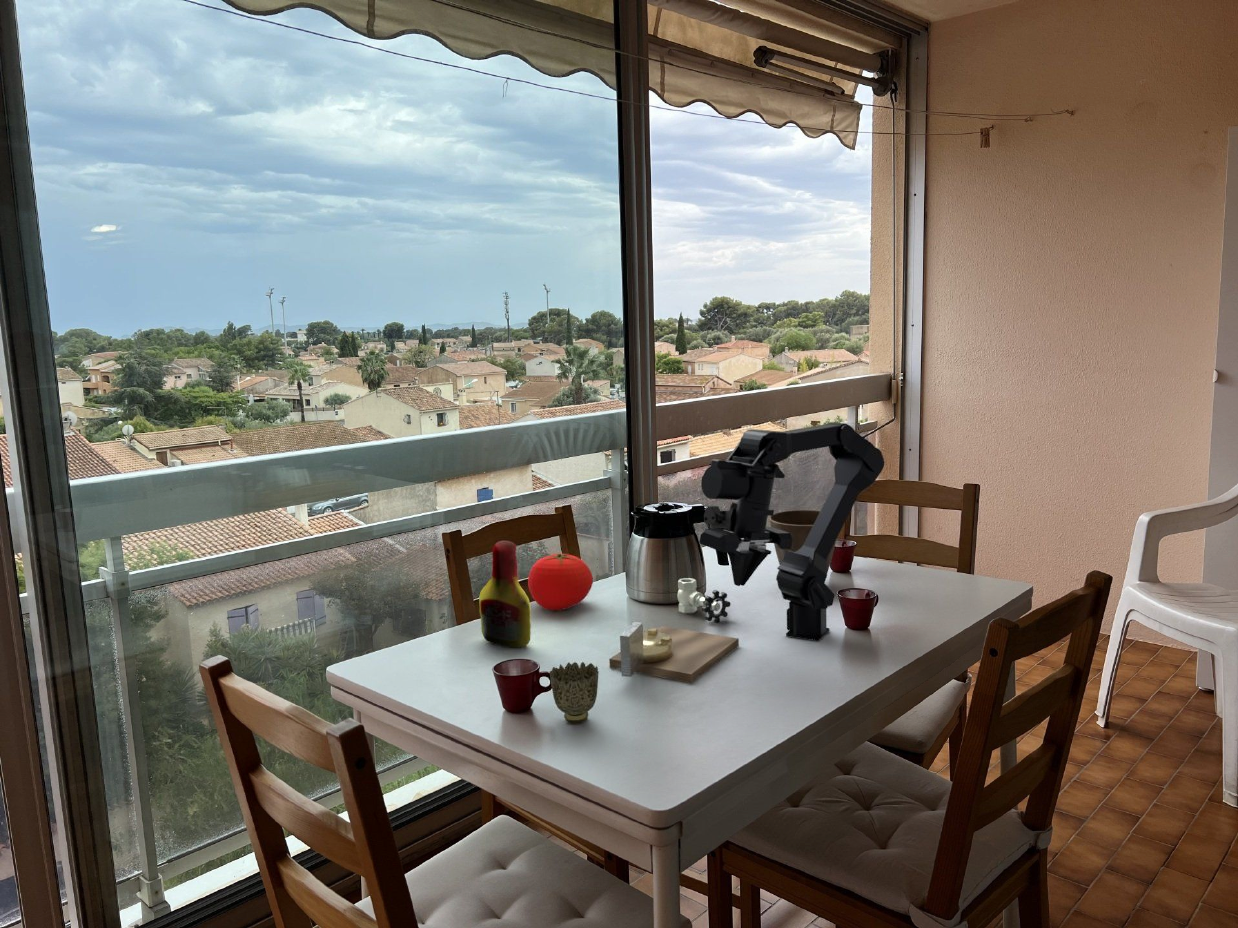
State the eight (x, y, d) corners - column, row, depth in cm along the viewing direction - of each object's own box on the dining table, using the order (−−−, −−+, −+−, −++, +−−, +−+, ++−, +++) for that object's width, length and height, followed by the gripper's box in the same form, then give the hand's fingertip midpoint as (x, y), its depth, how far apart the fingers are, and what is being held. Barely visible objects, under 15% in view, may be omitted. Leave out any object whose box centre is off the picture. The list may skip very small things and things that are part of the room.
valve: (669, 611, 188) (705, 626, 178) (668, 581, 187) (704, 594, 177) (694, 605, 191) (731, 619, 181) (693, 575, 190) (730, 587, 180)
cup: (551, 711, 141) (549, 662, 140) (599, 708, 142) (596, 659, 141) (552, 732, 134) (549, 681, 133) (602, 729, 135) (599, 677, 133)
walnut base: (738, 646, 166) (738, 638, 166) (691, 682, 150) (690, 674, 150) (662, 633, 175) (662, 625, 174) (609, 666, 159) (609, 658, 159)
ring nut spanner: (631, 642, 165) (629, 605, 164) (678, 646, 162) (677, 608, 161) (600, 674, 151) (598, 633, 150) (652, 679, 148) (650, 638, 147)
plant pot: (846, 596, 193) (846, 523, 190) (776, 599, 193) (775, 525, 191) (831, 577, 208) (831, 508, 205) (766, 579, 208) (764, 511, 205)
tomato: (545, 595, 202) (542, 544, 201) (601, 600, 197) (599, 548, 196) (518, 613, 191) (515, 559, 189) (577, 618, 186) (575, 563, 184)
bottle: (541, 645, 171) (535, 541, 168) (516, 655, 166) (509, 549, 163) (499, 632, 179) (493, 533, 176) (474, 641, 174) (467, 540, 171)
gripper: (755, 490, 173) (741, 569, 175) (685, 489, 161) (671, 574, 163) (801, 504, 165) (785, 587, 167) (730, 504, 153) (714, 593, 155)
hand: (739, 585), depth 163 cm, fingers closed
